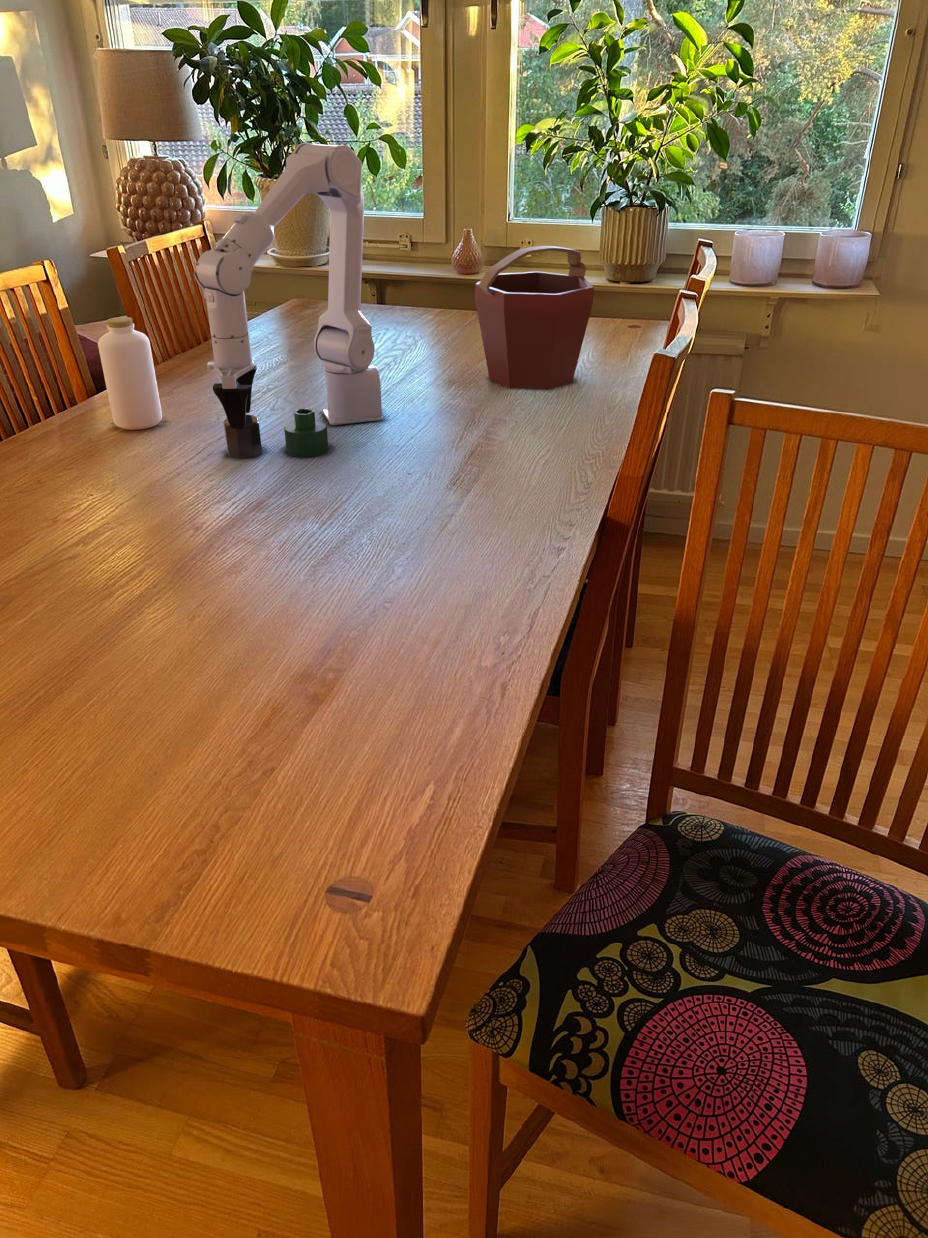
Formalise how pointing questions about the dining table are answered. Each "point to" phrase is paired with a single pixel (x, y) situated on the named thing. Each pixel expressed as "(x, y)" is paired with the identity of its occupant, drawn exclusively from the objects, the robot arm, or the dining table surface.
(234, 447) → the faceted brown jar
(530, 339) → the bucket
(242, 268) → the robot arm
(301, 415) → the bottle
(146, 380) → the potion bottle
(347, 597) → the dining table surface
